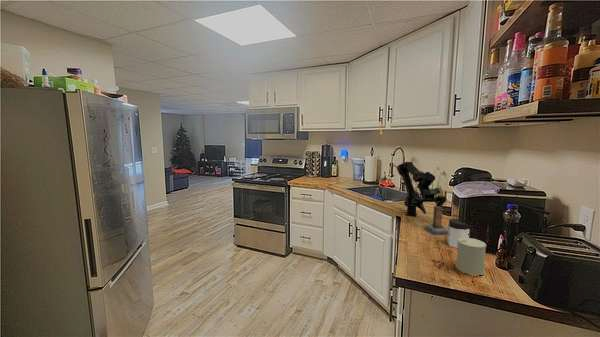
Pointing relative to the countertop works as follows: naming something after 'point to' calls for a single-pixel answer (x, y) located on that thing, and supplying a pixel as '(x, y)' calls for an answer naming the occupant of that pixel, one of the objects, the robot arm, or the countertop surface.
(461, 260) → the can
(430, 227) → the square frame on plate
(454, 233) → the jar
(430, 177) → the robot arm
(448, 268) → the countertop surface
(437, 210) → the walnut stick
